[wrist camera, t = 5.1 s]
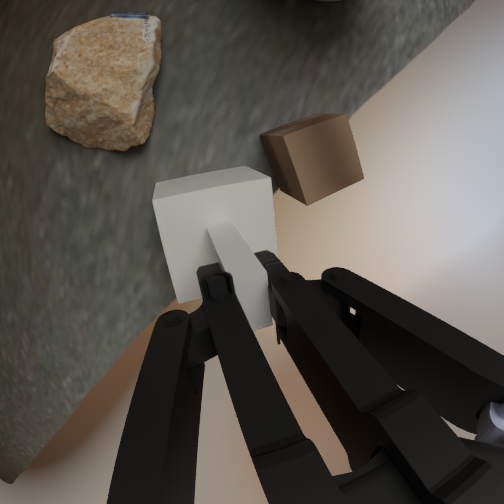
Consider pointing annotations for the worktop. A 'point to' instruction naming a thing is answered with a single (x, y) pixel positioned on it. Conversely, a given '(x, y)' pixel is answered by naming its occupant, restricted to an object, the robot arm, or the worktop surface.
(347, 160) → the walnut block
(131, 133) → the stone
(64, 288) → the worktop surface
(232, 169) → the block
